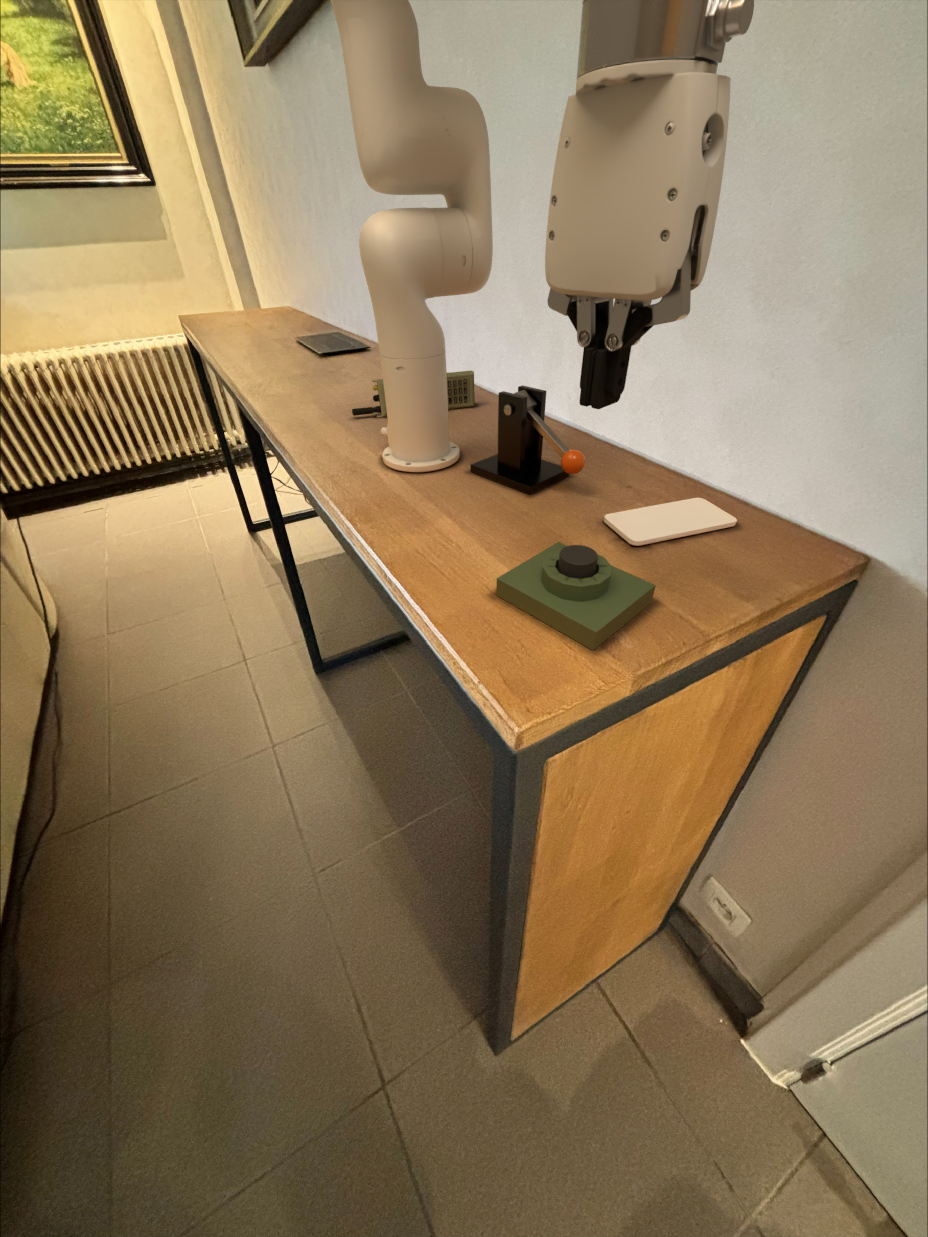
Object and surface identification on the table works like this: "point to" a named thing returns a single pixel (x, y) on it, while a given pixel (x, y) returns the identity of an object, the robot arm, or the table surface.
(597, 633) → the button box
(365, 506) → the table surface
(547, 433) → the switch lever
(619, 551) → the table surface
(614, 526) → the smartphone
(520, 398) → the switch bracket
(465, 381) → the handheld radio
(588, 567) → the push button
